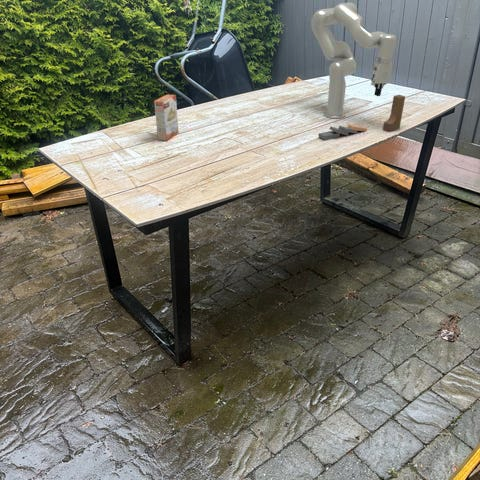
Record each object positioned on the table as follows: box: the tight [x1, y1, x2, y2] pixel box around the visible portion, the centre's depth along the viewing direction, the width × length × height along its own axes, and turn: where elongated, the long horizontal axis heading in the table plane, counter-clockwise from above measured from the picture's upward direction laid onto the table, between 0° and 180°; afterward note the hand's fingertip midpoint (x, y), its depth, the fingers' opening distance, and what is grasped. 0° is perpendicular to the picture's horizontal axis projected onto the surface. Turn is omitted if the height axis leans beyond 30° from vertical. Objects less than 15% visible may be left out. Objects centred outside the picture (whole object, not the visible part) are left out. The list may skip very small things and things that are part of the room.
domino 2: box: [318, 134, 341, 141], centre depth 243 cm, size 5×2×10 cm
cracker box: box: [153, 94, 179, 142], centre depth 241 cm, size 14×6×21 cm, turn 160°
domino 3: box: [329, 126, 350, 136], centre depth 243 cm, size 5×2×10 cm
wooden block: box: [382, 94, 406, 133], centre depth 247 cm, size 9×4×18 cm, turn 123°
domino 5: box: [346, 124, 368, 132], centre depth 249 cm, size 5×2×10 cm
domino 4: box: [337, 125, 359, 134], centre depth 245 cm, size 5×2×10 cm
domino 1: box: [317, 130, 340, 140], centre depth 241 cm, size 5×2×10 cm
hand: (377, 95), depth 248 cm, fingers closed
